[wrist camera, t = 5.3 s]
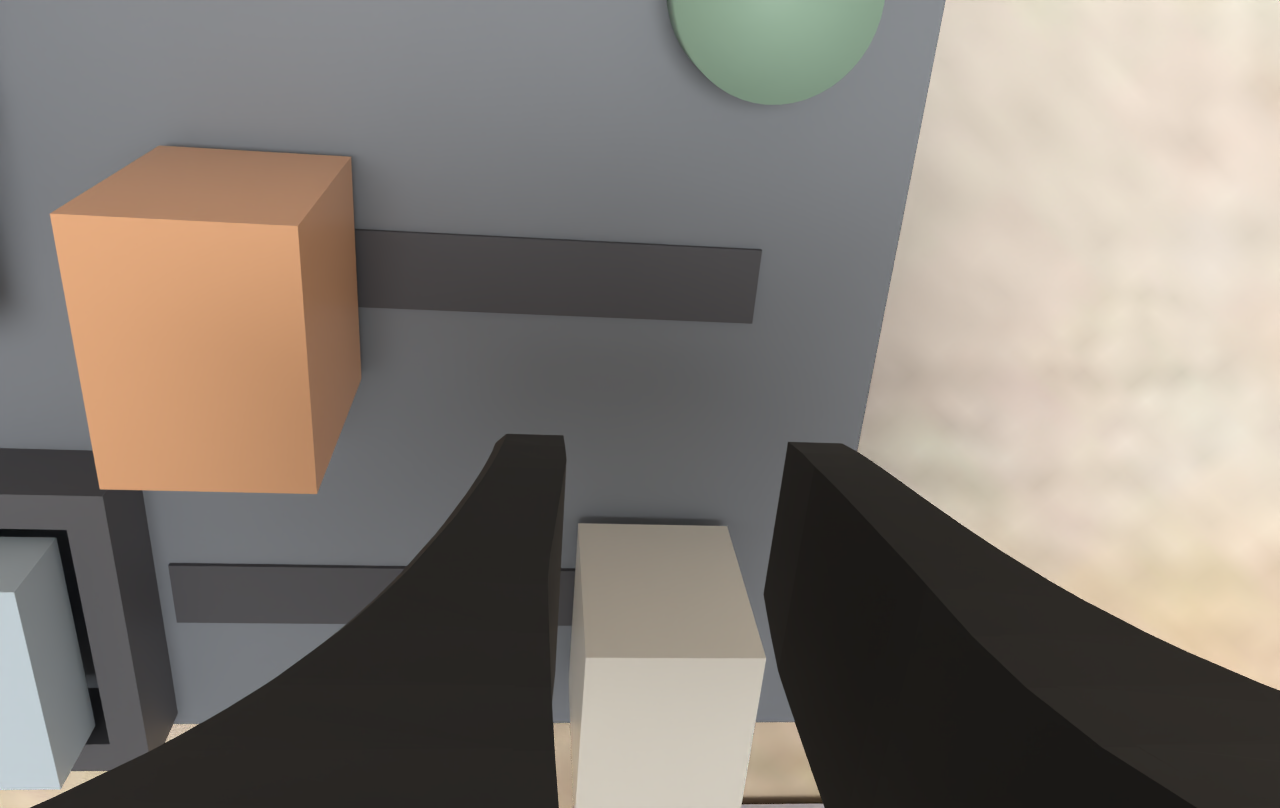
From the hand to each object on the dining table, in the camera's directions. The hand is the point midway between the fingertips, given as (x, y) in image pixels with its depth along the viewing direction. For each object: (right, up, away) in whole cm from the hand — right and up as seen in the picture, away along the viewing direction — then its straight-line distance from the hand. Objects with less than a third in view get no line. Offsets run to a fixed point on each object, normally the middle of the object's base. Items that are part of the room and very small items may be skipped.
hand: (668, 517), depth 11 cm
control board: (-6, +3, +8) cm, 11 cm away
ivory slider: (0, -3, +10) cm, 10 cm away
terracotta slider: (-7, +4, +6) cm, 10 cm away
